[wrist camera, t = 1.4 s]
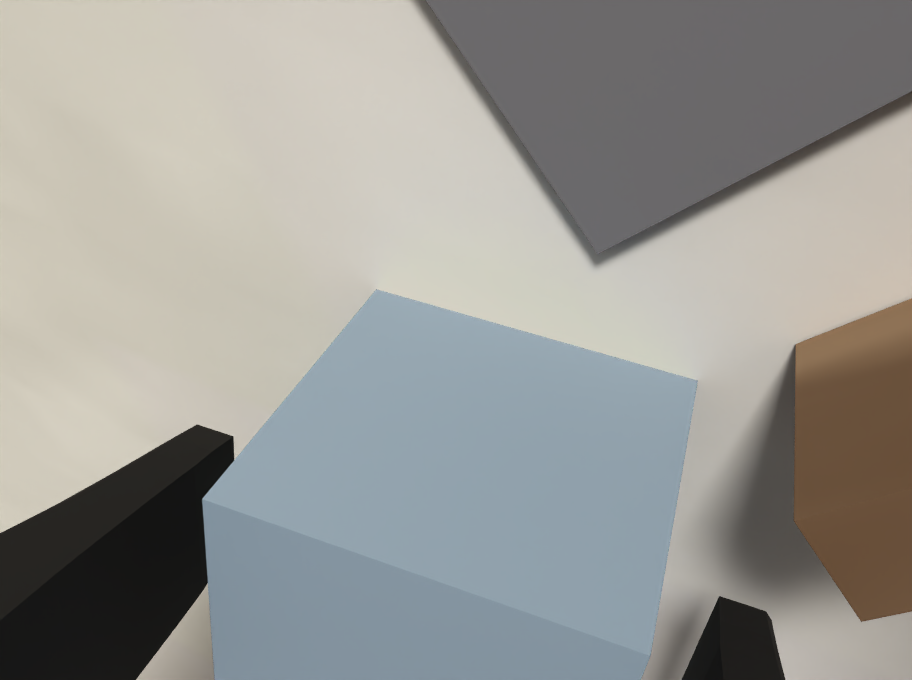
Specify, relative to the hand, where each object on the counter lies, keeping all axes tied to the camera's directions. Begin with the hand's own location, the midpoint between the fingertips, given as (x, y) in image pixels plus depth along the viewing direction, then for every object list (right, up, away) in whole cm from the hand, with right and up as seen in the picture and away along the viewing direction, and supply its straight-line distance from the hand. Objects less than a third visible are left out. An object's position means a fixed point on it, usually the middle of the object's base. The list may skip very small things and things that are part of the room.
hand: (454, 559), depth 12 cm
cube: (+1, +1, +2) cm, 3 cm away
